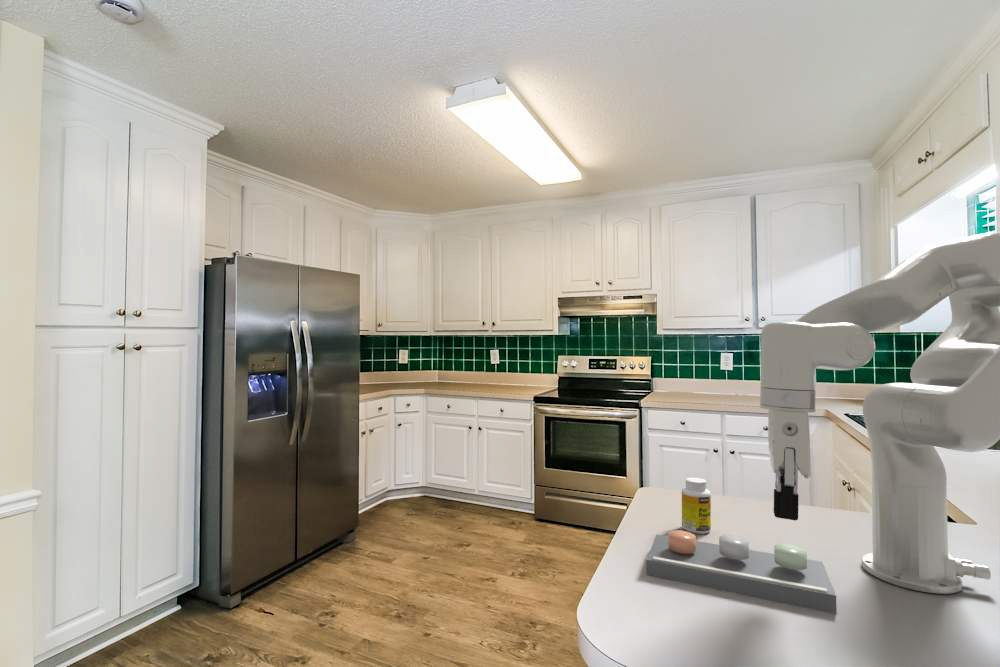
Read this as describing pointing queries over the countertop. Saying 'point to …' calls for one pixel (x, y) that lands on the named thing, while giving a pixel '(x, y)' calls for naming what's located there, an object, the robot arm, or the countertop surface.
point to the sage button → (790, 556)
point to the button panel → (744, 575)
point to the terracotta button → (682, 542)
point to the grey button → (734, 547)
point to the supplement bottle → (696, 506)
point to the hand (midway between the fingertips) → (785, 517)
